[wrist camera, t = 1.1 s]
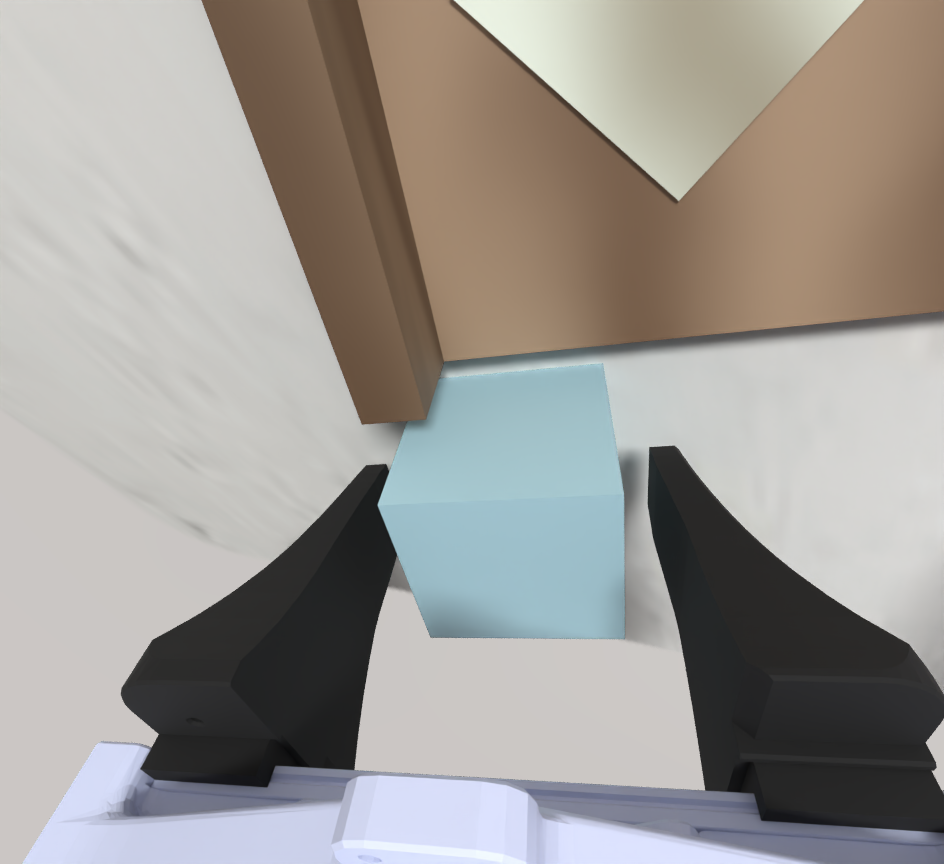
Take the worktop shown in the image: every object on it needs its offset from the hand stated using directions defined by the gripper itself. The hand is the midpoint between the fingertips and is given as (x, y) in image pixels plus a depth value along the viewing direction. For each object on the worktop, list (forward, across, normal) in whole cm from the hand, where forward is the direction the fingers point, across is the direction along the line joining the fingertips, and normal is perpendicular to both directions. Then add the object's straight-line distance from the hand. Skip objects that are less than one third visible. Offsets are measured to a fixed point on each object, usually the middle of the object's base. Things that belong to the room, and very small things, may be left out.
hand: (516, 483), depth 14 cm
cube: (+2, 0, 0) cm, 2 cm away
